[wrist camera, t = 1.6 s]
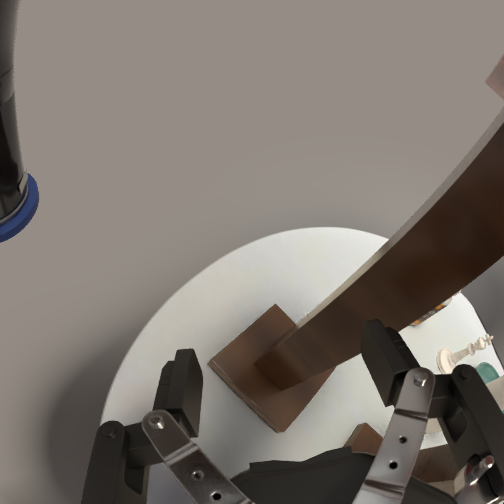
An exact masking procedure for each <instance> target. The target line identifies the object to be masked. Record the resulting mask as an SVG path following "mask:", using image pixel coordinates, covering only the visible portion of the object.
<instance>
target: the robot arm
mask: <svg viewBox="0 0 504 504" xmlns="http://www.w3.org/2000/svg"><path fill="white" fill-rule="evenodd" d="M20 1H21V0H0V226H2V225H4V224H6V223H8V222H9V221H11V220H12V219H13V218H14V217H16V216H17V215H18V214H19V212H20V211H21V210H22V209H23V207H24V206H25V204H26V202H27V199H28V195H29V188H28V183H27V179H28V174H27V170H26V171H25V172H24V168H23V161H22V155H21V149H20V142H19V135H18V127H17V118H16V106H15V90H14V48H15V39H16V31H17V21H18V13H19V7H20ZM360 348H361V354H362V357H363V360H364V362H365V364H366V366H367V368H368V370H369V372H370V374H371V377H372V379H373V381H374V383H375V385H376V387H377V390H378V392H379V394H380V396H381V398H382V401H383V403H384V405H385V407H387V406H390V405H393V406H394V408H395V410H394V413H393V415H392V418H391V421H390V423H389V426H388V429H387V431H386V434H385V436H384V438H383V441H382V443H381V446H380V448H379V450H378V452H377V455H373V454H370V453H366V452H359V451H352V448H351V446H347V447H343V448H339V449H334V450H330V451H326V452H324V453H321V454H319V455H317V456H315V457H312V458H310V459H307V460H305V461H302V462H295V461H279V460H272V461H264V462H254V463H250V469H248V470H245V471H243V472H240V473H238V474H237V475H235V476H233V477H232V478H231V479H228V478H227V477H226V476H225V475H224V474H223V473H222V472H221V471H220V470H219V469H218V468H217V466H216V465H215V464H214V463H213V462H212V461H211V460H210V459H209V458H208V457H207V456H206V454H205V453H204V452H203V451H202V450H201V449H200V448H199V447H198V446H197V445H196V444H194V443H193V441H192V440H191V437H198V433H199V421H200V410H201V399H202V388H203V375H202V370H201V368H200V365H199V362H198V359H197V357H196V354H195V351H194V349H181V350H177V352H176V356H175V361H168V362H167V363H166V365H165V366H164V367H163V369H162V372H161V376H160V380H159V386H158V388H157V393H156V397H155V401H154V406H153V410H152V411H151V412H149V413H148V414H147V415H146V416H145V417H144V418H143V420H142V422H140V423H136V424H132V425H128V426H123V425H122V424H121V423H120V422H118V421H108V422H105V423H104V424H102V425H101V426H100V427H99V429H98V431H97V434H96V438H95V442H94V446H93V450H92V454H91V458H90V462H89V467H88V471H87V476H86V481H85V485H84V490H83V496H82V501H81V504H146V503H147V490H148V478H149V468H150V465H153V464H157V463H161V462H164V463H165V465H166V466H167V468H168V469H169V470H170V472H171V473H172V474H173V476H174V477H175V478H176V480H177V481H178V482H179V484H180V485H181V486H182V487H183V489H184V490H185V491H186V493H187V494H188V495H189V496H190V497H191V499H192V500H193V501H194V502H195V503H196V504H499V503H500V502H501V501H503V500H504V414H503V412H502V411H501V409H500V407H499V405H498V404H497V402H496V400H495V399H494V397H493V395H492V394H491V392H490V391H489V389H488V387H487V386H486V384H485V383H484V381H483V379H482V378H481V376H480V375H479V373H478V372H477V370H476V369H475V368H474V367H472V366H470V365H467V364H461V365H458V366H456V367H455V368H454V369H453V371H452V373H451V374H439V375H435V374H433V372H432V371H430V370H429V369H427V368H423V367H421V366H420V365H419V363H418V362H417V360H416V359H415V357H414V356H413V354H412V352H411V351H410V349H409V348H408V346H407V345H406V343H405V342H404V341H403V339H402V337H401V336H400V334H399V333H398V332H397V331H396V330H394V329H393V328H391V327H386V328H385V327H384V326H383V324H382V322H381V321H380V320H379V319H374V320H370V321H366V322H363V325H362V335H361V346H360ZM432 418H437V420H438V422H439V425H440V427H441V429H442V431H443V434H444V436H445V438H446V441H447V443H448V445H449V448H450V450H451V453H452V455H453V458H454V460H455V463H456V465H457V468H458V470H459V472H458V473H457V475H456V477H455V479H454V489H455V491H454V496H453V497H452V496H451V495H450V494H448V493H446V492H444V491H442V490H440V489H438V488H436V487H434V486H432V485H430V484H428V483H426V482H424V481H422V480H420V479H418V478H416V477H414V476H412V475H411V473H412V471H413V468H414V465H415V462H416V459H417V456H418V453H419V450H420V447H421V444H422V441H423V437H424V434H425V431H426V427H427V423H428V419H432Z"/></svg>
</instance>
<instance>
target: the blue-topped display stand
mask: <svg viewBox="0 0 504 504" xmlns="http://www.w3.org/2000/svg"><path fill="white" fill-rule="evenodd" d="M382 441H383V438H382V437H381V436H380V435H379V434H378V433H377V432H376V431H375V430H374V429H373V428H372V427H371V426H369V425H368V424H367V423H363V424H359V425H358V426H357V428H356V429H355V431H354V432H353V434H352V435H351V437H350V438H349V440H348V441H347V443H346V444H345V446H344V447H347V446H351V448H352V451H359V452H366V453H370V454H373V455H377V452H378V450H379V448H380V446H381V443H382ZM458 472H459V470H458V468H457V465H456V463H455V460H454V458H453V455H452V453H451V450H450V448H449V445H448V444H446V445H441V446H437V447H432V448H427V449H422V450H419V453H418V456H417V459H416V462H415V465H414V468H413V471H412V473H411V475H412V476H414V477H416V478H418V479H420V480H422V481H424V482H426V483H428V484H430V485H432V486H434V487H436V488H438V489H440V490H442V491H444V492H446V493H448V494H450V495H451V496H452V497H453V496H454V491H455V489H454V479H455V477H456V475H457V473H458ZM503 504H504V503H503Z"/></svg>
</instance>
